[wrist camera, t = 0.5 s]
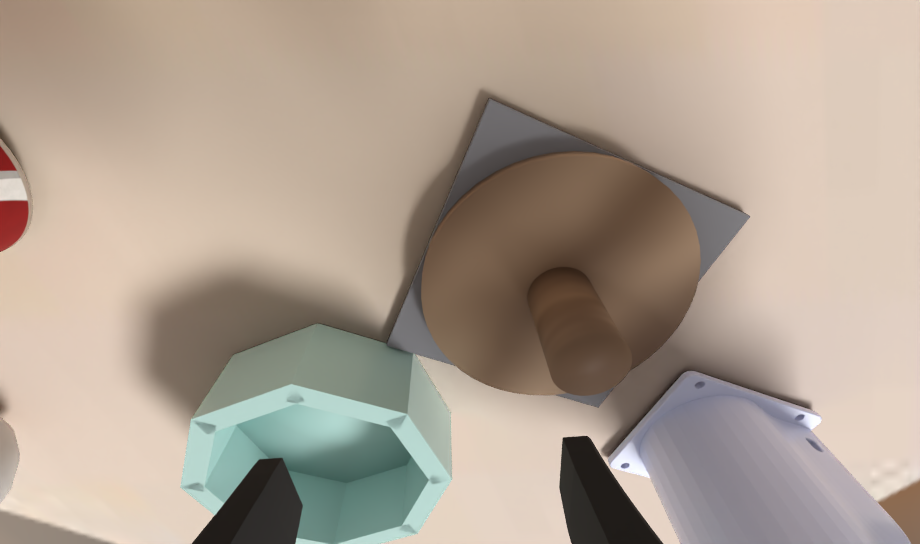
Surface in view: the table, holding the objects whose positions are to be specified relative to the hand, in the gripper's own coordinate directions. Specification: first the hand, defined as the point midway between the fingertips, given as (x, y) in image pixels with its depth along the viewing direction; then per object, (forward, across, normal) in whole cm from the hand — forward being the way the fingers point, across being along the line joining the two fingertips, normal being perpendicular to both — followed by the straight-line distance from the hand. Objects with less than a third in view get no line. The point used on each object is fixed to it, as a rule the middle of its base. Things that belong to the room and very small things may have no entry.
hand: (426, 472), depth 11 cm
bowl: (+10, +6, +8) cm, 14 cm away
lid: (+9, -5, 0) cm, 11 cm away
